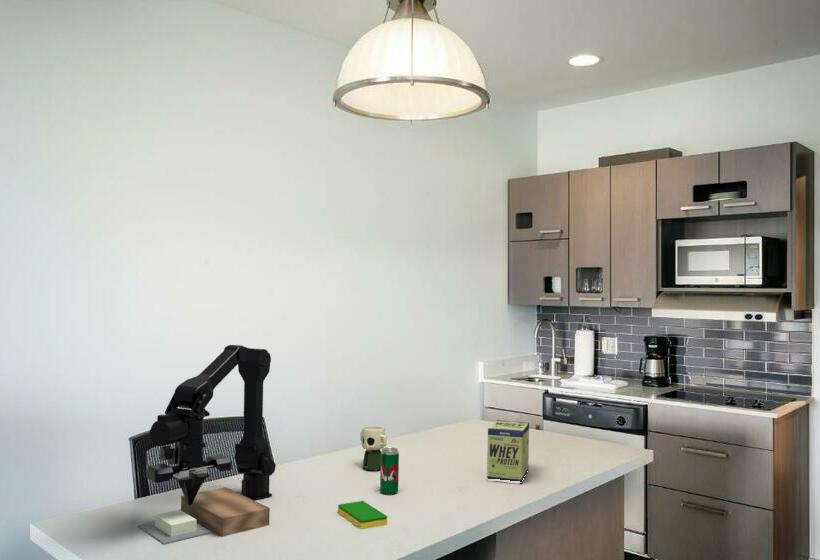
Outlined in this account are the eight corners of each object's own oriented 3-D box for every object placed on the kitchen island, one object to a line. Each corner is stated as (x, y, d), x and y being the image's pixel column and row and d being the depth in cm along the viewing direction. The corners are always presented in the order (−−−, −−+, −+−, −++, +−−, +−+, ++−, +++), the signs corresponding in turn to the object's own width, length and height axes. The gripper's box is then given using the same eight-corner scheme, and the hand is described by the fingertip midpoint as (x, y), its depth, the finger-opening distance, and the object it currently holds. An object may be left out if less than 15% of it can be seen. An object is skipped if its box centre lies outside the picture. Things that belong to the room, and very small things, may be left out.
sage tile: (155, 515, 161) (154, 525, 161) (171, 525, 155) (171, 536, 155) (179, 509, 165) (179, 520, 165) (196, 519, 159) (196, 530, 159)
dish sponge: (362, 509, 178) (363, 500, 178) (387, 526, 166) (387, 516, 166) (337, 513, 174) (337, 504, 174) (360, 531, 162) (361, 520, 162)
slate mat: (183, 516, 169) (183, 515, 169) (211, 533, 158) (211, 531, 158) (137, 526, 162) (137, 524, 162) (164, 544, 151) (164, 543, 151)
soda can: (400, 490, 194) (401, 447, 194) (395, 496, 189) (396, 451, 189) (383, 489, 195) (384, 446, 195) (377, 494, 190) (378, 450, 190)
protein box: (486, 481, 205) (487, 428, 205) (495, 468, 220) (496, 419, 220) (521, 485, 202) (522, 431, 202) (529, 471, 216) (529, 421, 217)
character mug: (352, 468, 217) (353, 426, 217) (368, 464, 222) (368, 423, 223) (377, 474, 210) (378, 431, 210) (393, 470, 215) (394, 428, 215)
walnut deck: (225, 502, 180) (225, 487, 181) (269, 524, 164) (269, 507, 164) (180, 512, 172) (181, 495, 172) (222, 536, 156) (222, 518, 156)
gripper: (212, 427, 175) (210, 489, 175) (137, 437, 162) (136, 504, 162) (233, 434, 167) (232, 500, 166) (156, 445, 154) (155, 516, 154)
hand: (189, 504), depth 162 cm, fingers closed
